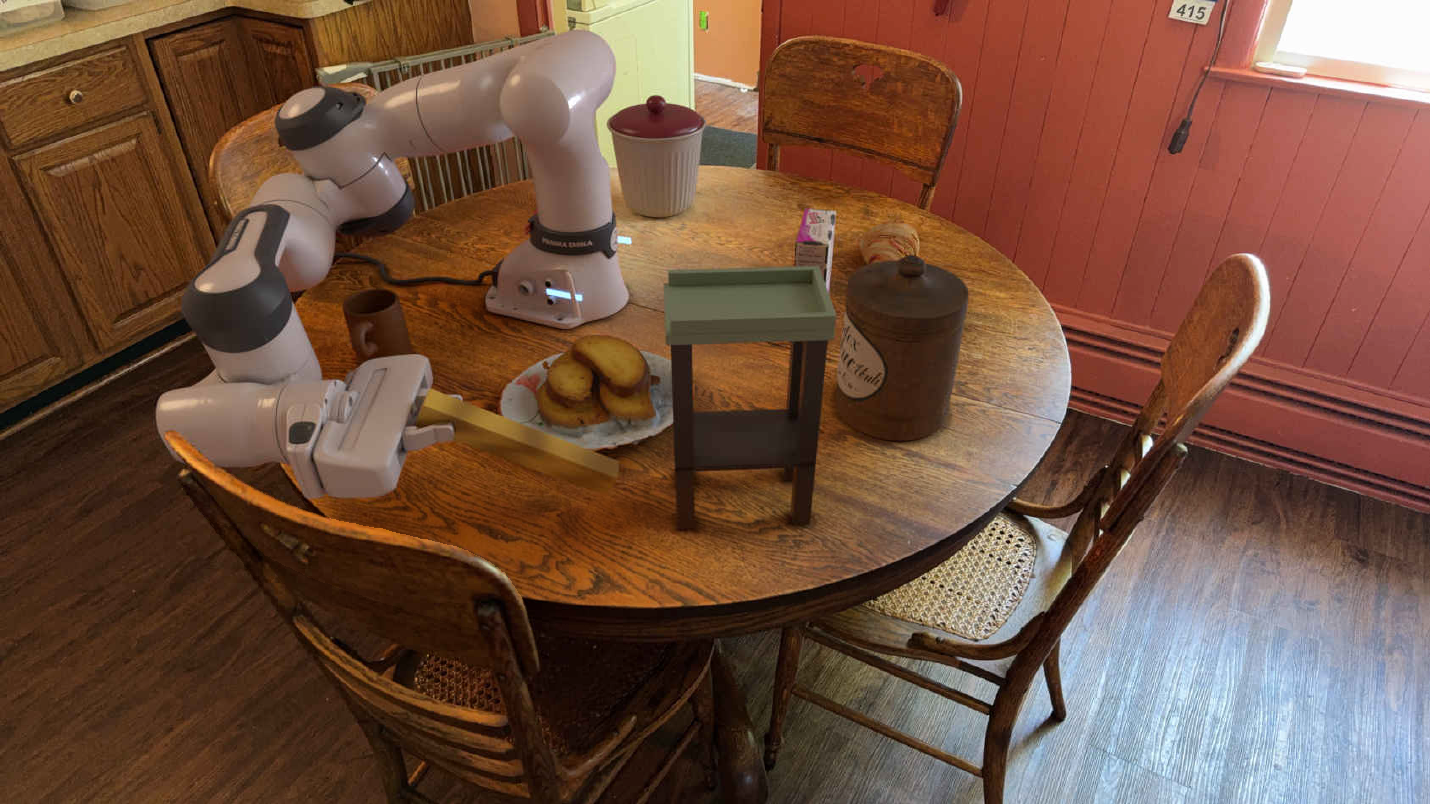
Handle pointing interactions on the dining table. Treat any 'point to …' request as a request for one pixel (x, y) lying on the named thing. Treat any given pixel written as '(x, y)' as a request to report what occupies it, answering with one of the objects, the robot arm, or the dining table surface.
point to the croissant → (889, 242)
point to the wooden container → (899, 348)
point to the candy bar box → (816, 241)
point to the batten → (520, 443)
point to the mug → (376, 325)
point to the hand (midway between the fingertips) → (458, 417)
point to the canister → (657, 155)
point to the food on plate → (594, 394)
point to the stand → (749, 314)
